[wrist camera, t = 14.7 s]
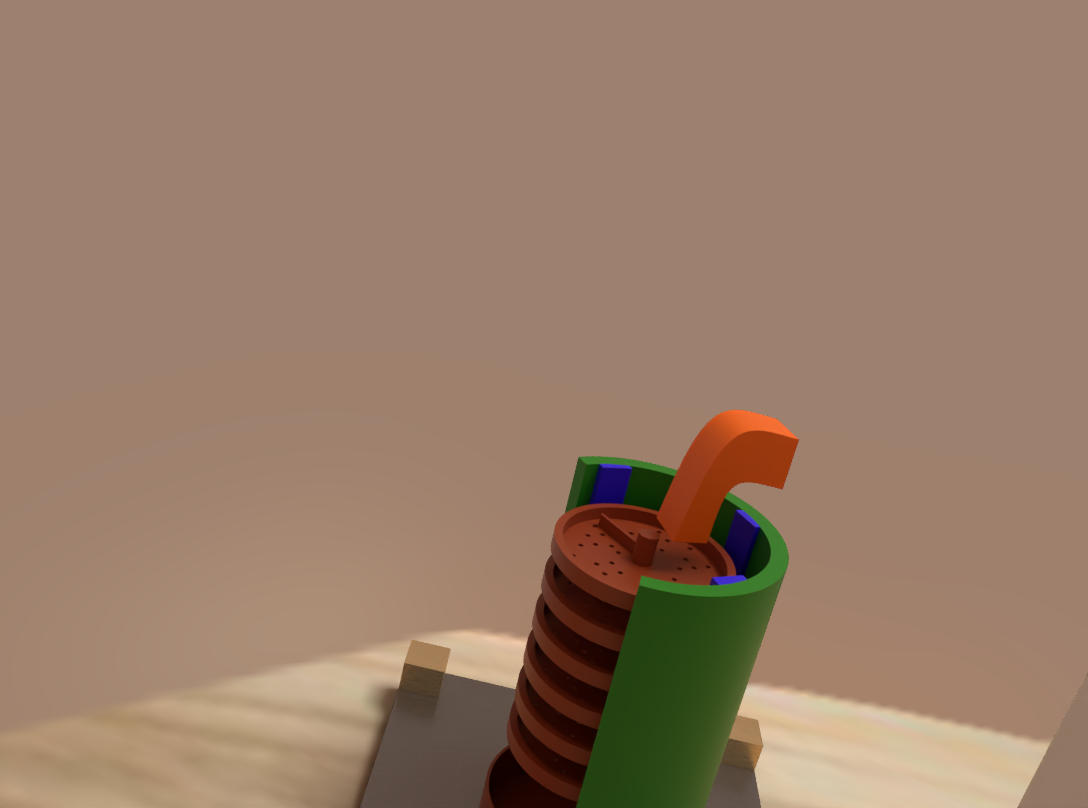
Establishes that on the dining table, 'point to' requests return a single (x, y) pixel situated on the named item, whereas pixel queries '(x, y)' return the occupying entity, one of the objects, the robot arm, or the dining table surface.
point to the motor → (646, 627)
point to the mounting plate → (489, 742)
